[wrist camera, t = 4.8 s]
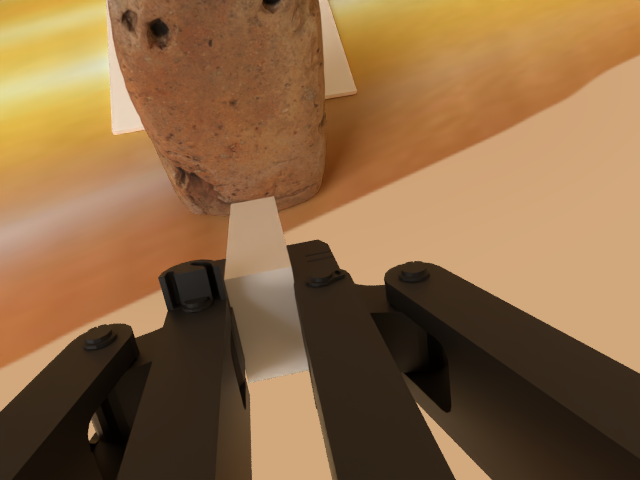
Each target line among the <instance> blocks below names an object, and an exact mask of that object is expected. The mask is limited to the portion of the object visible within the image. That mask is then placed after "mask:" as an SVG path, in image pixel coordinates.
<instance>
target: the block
mask: <svg viewBox="0 0 640 480" xmlns="http://www.w3.org/2000/svg"><path fill="white" fill-rule="evenodd" d="M107 1H108V9H109V16H110V20H111V28H112V37H113V42H114V47H115V52H116V56H117V60H118V63H119V67H120V70H121V73H122V76H123V78H124V82H125V87H126V89H127V91H128V94H129V97H130V99H131V101H132V103H133V105H134V108H135V110H136V112H137V114H138V115H139V117H140V120H141V123H142V125H143V127H144V129H145V130H146V132H147V134H148V135H149V137H150V138H151V140H152V142H153V144H154V146H155V148H156V151H157V153H158V155H159V158H160V160H161V162H162V164H163V167H164V169H165V170H166V172H167V175H168V177H169V179H170V181H171V183H172V186H173V188H174V190H175V192H176V193H177V195H178V197H179V198H180V200H181V201H182V202H183V203H184V205H185V206H186V207H187V208H188V209H189V210H190V211H191V212H192V213H194V214H199V215H203V214H210V215H220V216H230V209H231V204H234V203H240V202H245V201H251V200H256V199H262V198H267V197H273V196H274V198H275V202H276V206H277V211H278V210H282V209H285V208H288V207H291V206H293V205H295V204H298V203H301V202H304V201H307V200H308V199H310V198H311V197H313V196H314V195H315V194H316V193H317V192H318V191H319V189H320V186H321V183H322V178H323V173H324V169H325V160H326V116H325V112H324V106H325V78H324V55H323V39H322V23H321V12H320V5H319V0H107Z"/></svg>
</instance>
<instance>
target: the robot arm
mask: <svg viewBox="0 0 640 480" xmlns="http://www.w3.org/2000/svg"><path fill="white" fill-rule="evenodd" d="M158 278H159V282H160V285H161V288H162V292H163V295H164V299H165V302H166V306H167V309H168V312H167V316H166V319H165V323H164V325H163V327H162V328H160V329H158V330H155V331H153V332H151V333H148V334H145V335H142V336H139V337H137V338H135V337H134V334H133V331H132V328H131V326H129V325H126V324H110V325H106V324H105V325H100V326H98V328H97V327H94V328H92V329H90V330H89V331H88V332H86V333H84V334H82V335H80V336H79V337H77V338H76V339H75V340H73V341H72V342H71V343H70V344H69V345H68V346H67V347H66V348H65V349H64V350H63V351H62V352H61V353H60V354H59V355H58V356H57V357H55V359H54V360H52V361H51V362H50V363H49V364H48V365H47V366H46V367H45V368H44V369H43V370H42V371H41V372H40V373H39V374H38V375H37V376H36V377H35V378H34V379H33V380H32V381H31V382H30V383H29V384H28V385H27V386H26V387H25V388H24V389H23V390H22V391H21V392H20V393H19V394H18V395H17V396H16V397H15V398H14V399H13V400H12V401H11V402H10V403H9V404H8V405H7V406H6V407H5V408H4V409H3V410H2V411H1V412H0V480H252V470H251V431H250V395H249V391H248V386H247V382H246V378H245V370H246V374H247V378H248V383H252V382H256V381H261V380H266V379H270V378H274V377H280V376H284V375H289V374H294V373H298V372H303V371H307V370H309V372H310V377H311V383H312V388H313V393H314V399H315V404H316V409H317V410H318V415H319V419H320V424H321V429H322V434H323V439H324V443H325V448H326V453H327V457H328V462H329V466H330V471H331V476H332V480H456V479H455V478H454V475H453V474H452V472H451V470H450V468H449V466H448V464H447V462H446V460H445V458H444V456H443V454H442V452H441V450H440V448H439V446H438V444H437V443H436V441H435V439H434V437H433V435H432V433H431V431H430V429H429V427H428V425H427V423H426V421H425V419H424V417H423V416H422V413H421V411H420V410H419V408H418V406H417V404H416V402H417V403H418V404H419V405H420V406H421V407H422V408H423V409H424V410H425V411H426V413H427V414H428V415H429V416H430V417H431V418H433V420H434V421H435V422H436V423H437V424H438V425H439V426H440V427H441V428H442V429H443V430H444V431H445V432H446V433H447V434H448V435H449V436H450V437H451V438H452V439H453V440H454V441H455V442H456V443H457V444H458V445H459V446H460V447H461V448H462V449H463V450H464V451H465V452H466V454H467V455H468V456H469V457H470V458H471V459H472V460H473V461H474V462H475V463H476V464H477V465H478V466H479V467H480V468H481V469H482V470H483V471H484V472H485V473H486V474H487V475H488V476H489V477H490V478H491V479H492V480H640V374H639V373H637V372H636V371H634V370H632V369H630V368H628V367H626V366H624V365H623V364H621V363H619V362H617V361H615V360H613V359H611V358H610V357H608V356H606V355H604V354H602V353H600V352H598V351H597V350H595V349H593V348H591V347H589V346H587V345H585V344H584V343H582V342H580V341H578V340H576V339H574V338H572V337H570V336H568V335H567V334H565V333H563V332H561V331H559V330H557V329H556V328H554V327H552V326H550V325H548V324H546V323H544V322H542V321H541V320H539V319H537V318H535V317H533V316H531V315H529V314H528V313H526V312H524V311H522V310H520V309H518V308H516V307H515V306H513V305H511V304H509V303H507V302H505V301H503V300H501V299H500V298H498V297H496V296H494V295H492V294H490V293H488V292H487V291H485V290H483V289H481V288H479V287H477V286H475V285H474V284H472V283H470V282H468V281H466V280H464V279H462V278H460V277H459V276H457V275H455V274H453V273H451V272H449V271H447V270H446V269H444V268H442V267H440V266H437V265H434V264H431V263H423V262H421V261H415V262H414V263H413V262H407V263H405V264H402V265H398V266H396V267H393V268H391V269H390V270H388V271H387V272H386V273H385V277H384V281H385V285H376V286H365V285H358V284H354V282H353V280H352V278H351V276H350V274H349V273H348V272H346V271H345V270H342V269H340V268H339V266H338V264H337V262H336V260H335V258H334V256H333V254H332V252H331V250H330V248H329V246H328V244H326V243H324V242H322V241H320V240H314V241H308V242H303V243H298V244H293V245H287V246H286V243H285V239H284V235H283V231H282V227H281V223H280V219H279V215H278V211H277V206H276V202H275V198H274V196H273V197H267V198H262V199H256V200H251V201H245V202H240V203H234V204H231V209H230V220H229V231H228V242H227V253H226V259H222V260H216V261H213V260H195V261H189V262H185V263H181V264H179V265H176V266H174V267H171V268H169V269H168V270H166V271H164V272H163V273H162V274H161V275H160V276H159V277H158ZM415 401H416V402H415ZM91 420H92V423H93V426H94V428H95V431H96V433H95V434H94V436H93V437H92V438H91V440H90V441H89V440H88V429H89V423H90V421H91Z"/></svg>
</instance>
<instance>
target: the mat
mask: <svg viewBox="0 0 640 480" xmlns="http://www.w3.org/2000/svg"><path fill="white" fill-rule="evenodd" d="M319 5H320V12H321V23H322V39H323V55H324V78H325V99H329V98H335V97H341V96H347V95H353V94H357V89H356V86H355V83H354V80H353V77H352V74H351V71H350V68H349V65H348V61H347V58H346V55H345V52H344V49H343V46H342V43H341V40H340V37H339V33H338V30H337V27H336V24H335V21H334V18H333V15H332V12H331V8H330V5H329V2H328V0H319ZM106 7H107V29H108V51H109V74H110V96H111V118H112V133H113V134H114V135H117V134H123V133H129V132H135V131H141V130H145V129H144V127H143V125H142V123H141V120H140V117H139V115H138V114H137V112H136V110H135V108H134V105H133V103H132V101H131V99H130V97H129V94H128V91H127V89H126V87H125V82H124V78H123V76H122V73H121V70H120V67H119V63H118V60H117V56H116V52H115V47H114V42H113V37H112V28H111V20H110V16H109V9H108V1H107V0H106Z"/></svg>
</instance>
